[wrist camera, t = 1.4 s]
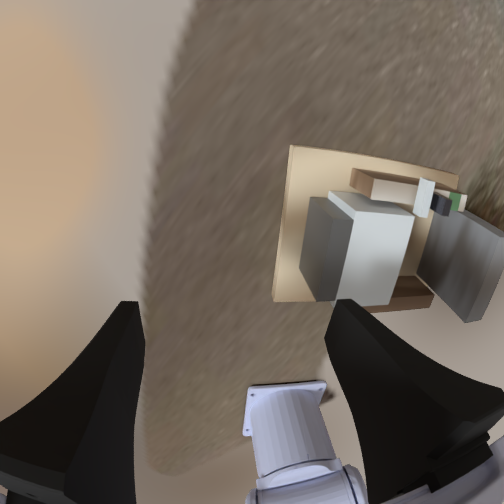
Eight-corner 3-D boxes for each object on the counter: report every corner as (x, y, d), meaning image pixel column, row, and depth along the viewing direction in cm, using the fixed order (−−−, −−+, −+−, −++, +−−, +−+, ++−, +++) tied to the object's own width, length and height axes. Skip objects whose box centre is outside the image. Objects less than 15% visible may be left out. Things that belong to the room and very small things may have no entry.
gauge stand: (418, 289, 25) (468, 344, 18) (271, 294, 23) (296, 373, 16) (451, 172, 20) (523, 205, 13) (290, 144, 18) (339, 168, 11)
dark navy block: (432, 207, 16) (448, 216, 15) (426, 206, 16) (441, 215, 15) (436, 192, 16) (452, 200, 14) (429, 190, 16) (445, 199, 14)
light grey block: (374, 273, 22) (400, 303, 18) (297, 274, 21) (314, 308, 17) (399, 167, 18) (435, 182, 15) (315, 154, 17) (341, 166, 14)
